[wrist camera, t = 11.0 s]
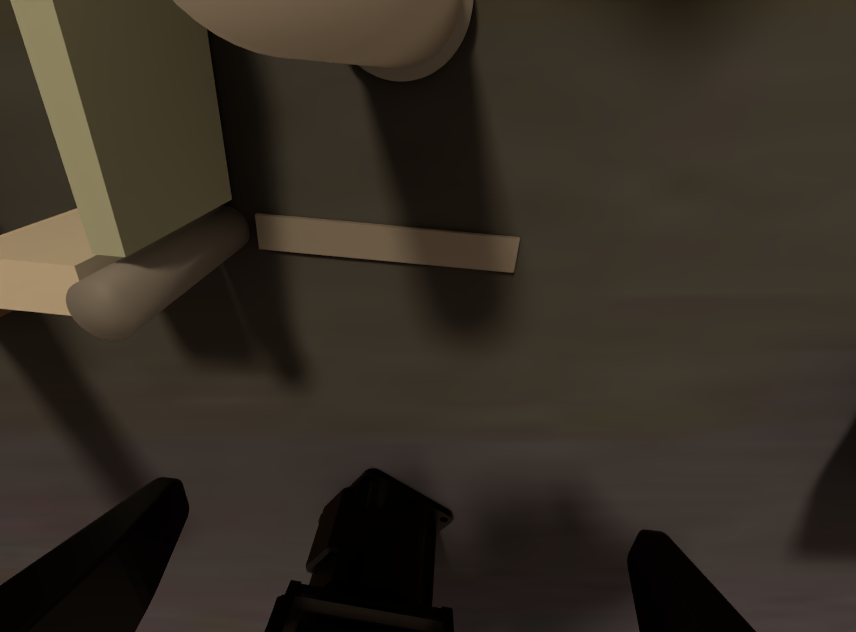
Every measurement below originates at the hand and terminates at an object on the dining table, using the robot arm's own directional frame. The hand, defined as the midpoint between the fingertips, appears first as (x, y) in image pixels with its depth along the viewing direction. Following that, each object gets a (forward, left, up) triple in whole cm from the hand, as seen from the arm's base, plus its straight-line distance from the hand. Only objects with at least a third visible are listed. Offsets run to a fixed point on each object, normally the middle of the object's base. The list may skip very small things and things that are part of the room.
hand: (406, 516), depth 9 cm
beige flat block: (+13, -1, -13) cm, 18 cm away
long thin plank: (+5, +2, -13) cm, 14 cm away
